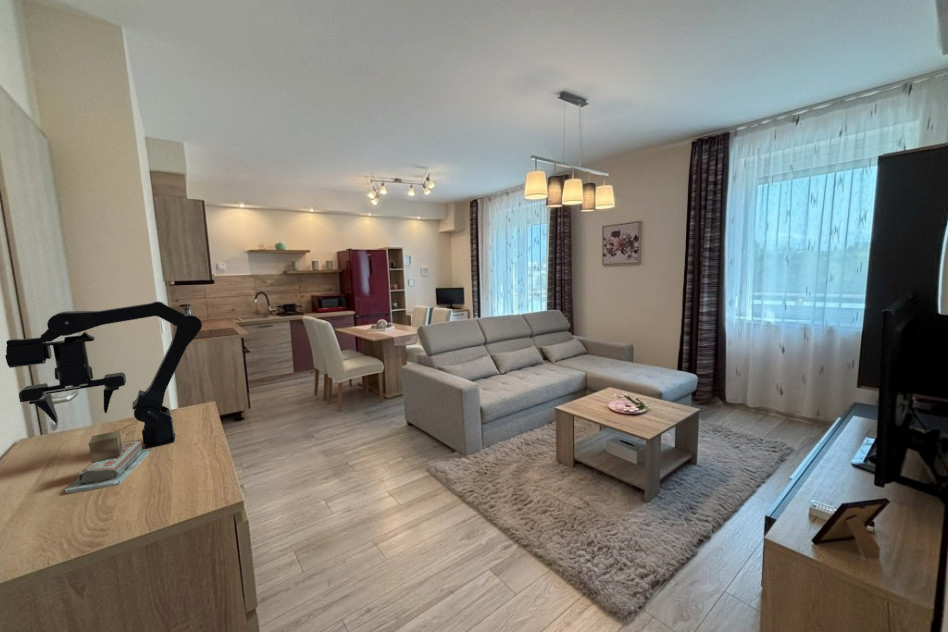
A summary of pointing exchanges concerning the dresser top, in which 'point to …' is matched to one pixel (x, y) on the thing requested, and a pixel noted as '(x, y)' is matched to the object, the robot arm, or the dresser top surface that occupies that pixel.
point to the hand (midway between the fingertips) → (81, 417)
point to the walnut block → (105, 446)
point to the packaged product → (110, 469)
